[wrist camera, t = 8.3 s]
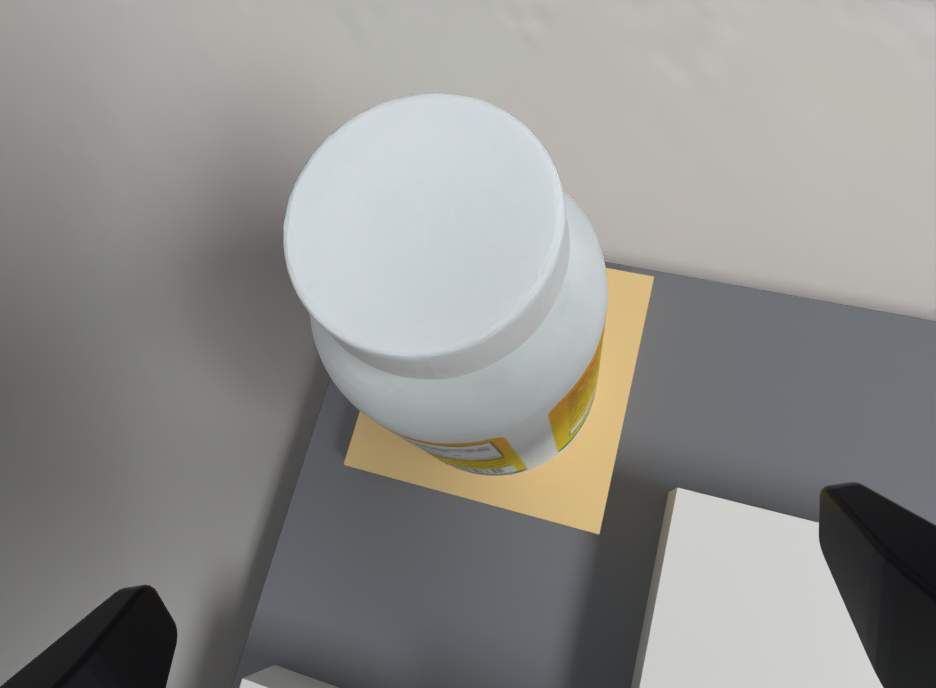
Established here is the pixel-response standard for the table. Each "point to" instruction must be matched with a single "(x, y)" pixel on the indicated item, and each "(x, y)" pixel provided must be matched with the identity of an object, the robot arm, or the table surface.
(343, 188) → the supplement bottle
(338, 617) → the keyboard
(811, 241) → the table surface
